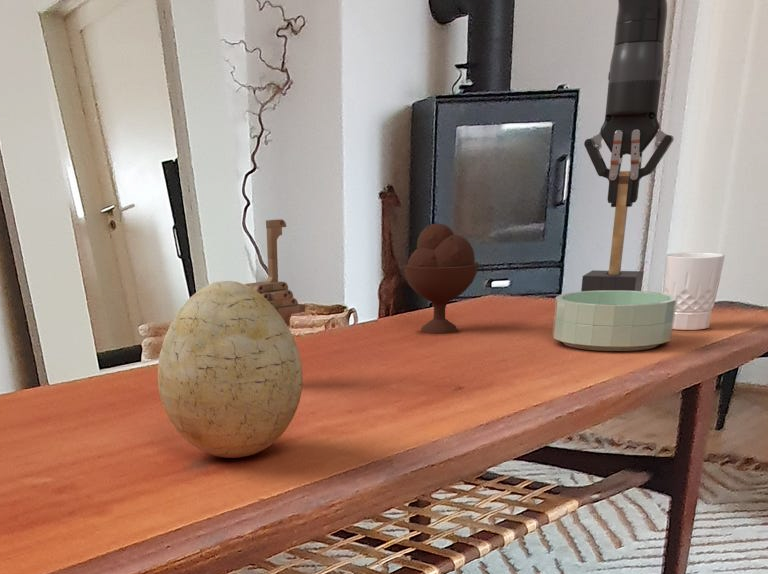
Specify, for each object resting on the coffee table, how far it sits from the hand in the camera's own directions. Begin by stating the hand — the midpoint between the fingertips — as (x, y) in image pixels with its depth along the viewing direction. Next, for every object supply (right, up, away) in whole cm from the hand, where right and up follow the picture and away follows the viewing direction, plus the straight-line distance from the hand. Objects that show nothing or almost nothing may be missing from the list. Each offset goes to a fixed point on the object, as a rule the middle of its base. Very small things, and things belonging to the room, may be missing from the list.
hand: (621, 206), depth 152 cm
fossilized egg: (-57, -51, -64) cm, 100 cm away
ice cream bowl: (-29, -21, -4) cm, 36 cm away
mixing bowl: (-8, -27, -18) cm, 33 cm away
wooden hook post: (-59, -39, -39) cm, 81 cm away
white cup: (+7, -22, -8) cm, 24 cm away
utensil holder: (0, -14, +7) cm, 16 cm away
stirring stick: (0, -12, +6) cm, 13 cm away
